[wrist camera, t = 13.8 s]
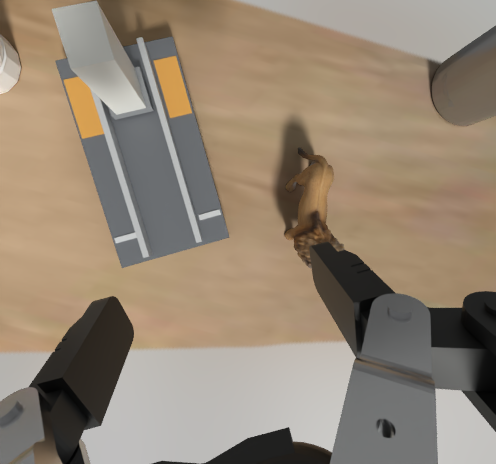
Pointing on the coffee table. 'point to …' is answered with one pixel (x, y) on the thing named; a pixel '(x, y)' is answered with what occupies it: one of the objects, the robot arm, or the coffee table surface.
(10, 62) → the white cup
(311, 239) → the lion figurine
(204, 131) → the coffee table surface
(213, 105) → the coffee table surface
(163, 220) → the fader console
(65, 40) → the fader knob
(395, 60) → the coffee table surface
